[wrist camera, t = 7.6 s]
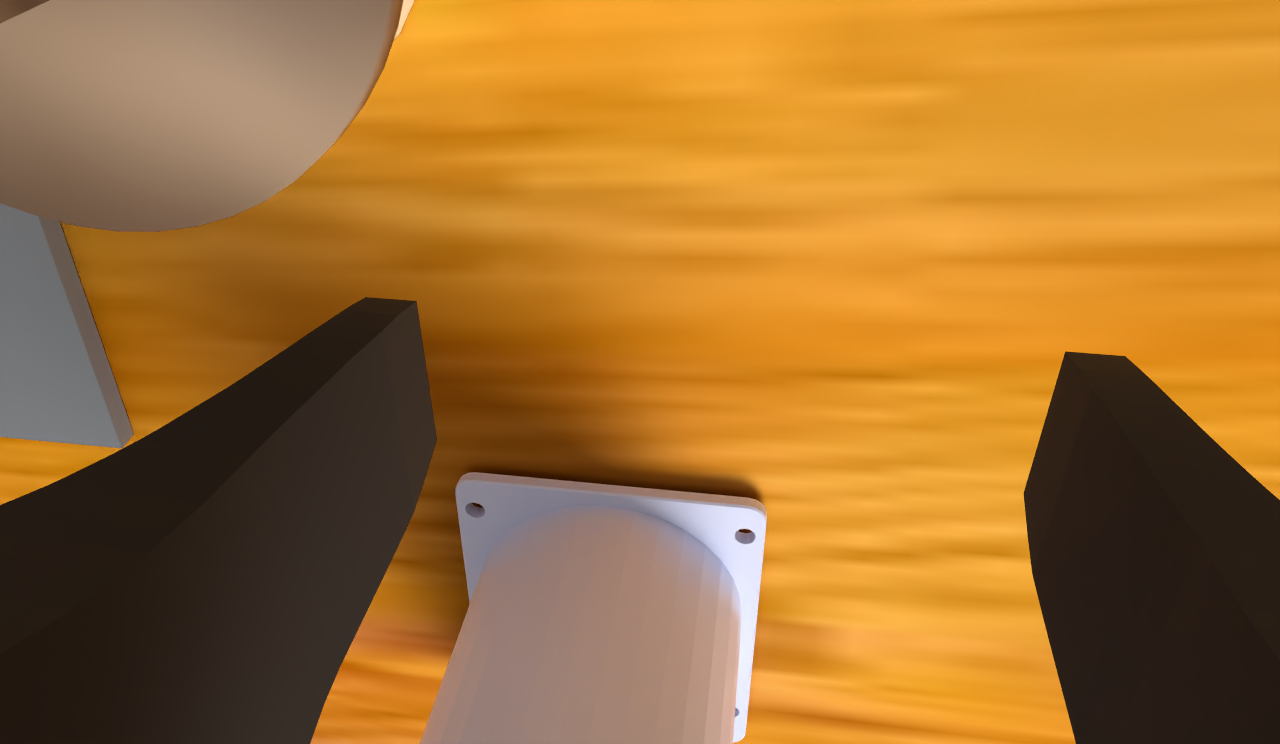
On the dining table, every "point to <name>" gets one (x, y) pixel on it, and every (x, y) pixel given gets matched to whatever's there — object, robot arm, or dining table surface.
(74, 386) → the coaster
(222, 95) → the lid
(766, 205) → the dining table surface
